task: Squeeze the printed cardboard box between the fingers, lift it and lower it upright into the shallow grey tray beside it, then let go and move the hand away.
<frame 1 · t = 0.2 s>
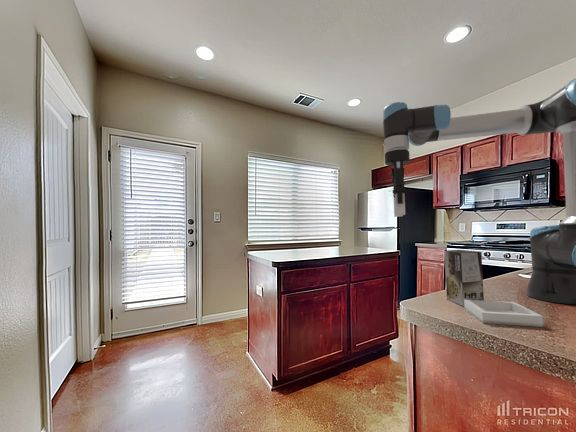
hand: (399, 215, 87), 28 cm above the countertop, tool pointing down, fingers open, 13 cm apart
shallow grey tray: (499, 316, 69), on the countertop
printed cardboard box: (464, 303, 82), on the countertop
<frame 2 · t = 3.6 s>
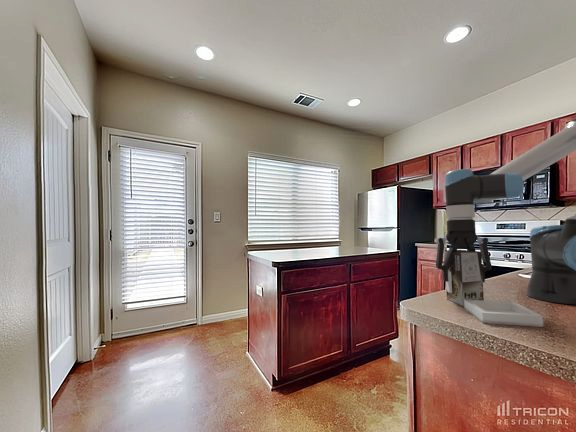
hand: (463, 292, 83), 3 cm above the countertop, tool pointing down, fingers closed on printed cardboard box, 7 cm apart
printed cardboard box: (464, 303, 83), on the countertop, touching gripper
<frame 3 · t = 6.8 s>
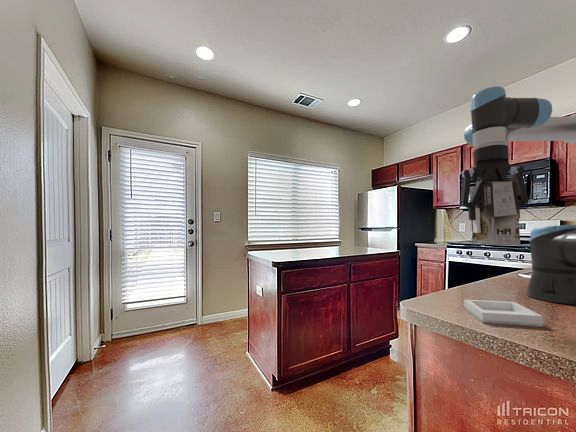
hand: (494, 232, 70), 22 cm above the countertop, tool pointing down, fingers closed on printed cardboard box, 7 cm apart
printed cardboard box: (494, 244, 70), point 19 cm above the countertop, touching gripper
when the fingers open (6 cm above the countertop, at t = 9.8 s): printed cardboard box stays where it is, resting on shallow grey tray.
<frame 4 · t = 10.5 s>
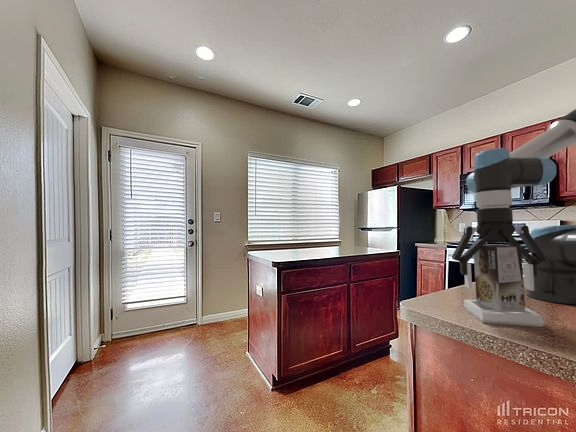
hand: (498, 288, 70), 7 cm above the countertop, tool pointing down, fingers open, 13 cm apart
printed cardboard box: (499, 307, 70), point 2 cm above the countertop, touching shallow grey tray
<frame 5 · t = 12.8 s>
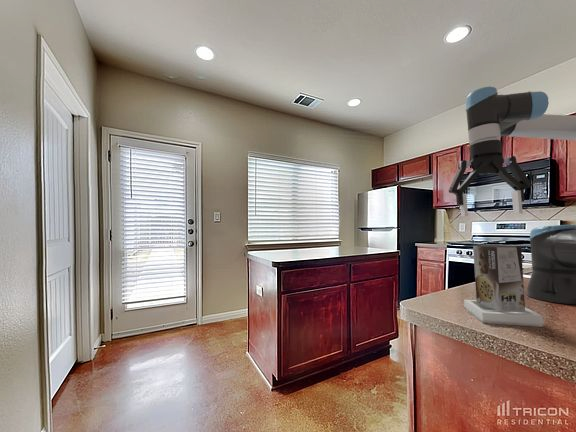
hand: (490, 215, 77), 27 cm above the countertop, tool pointing down, fingers open, 13 cm apart
nothing on the countertop moved.
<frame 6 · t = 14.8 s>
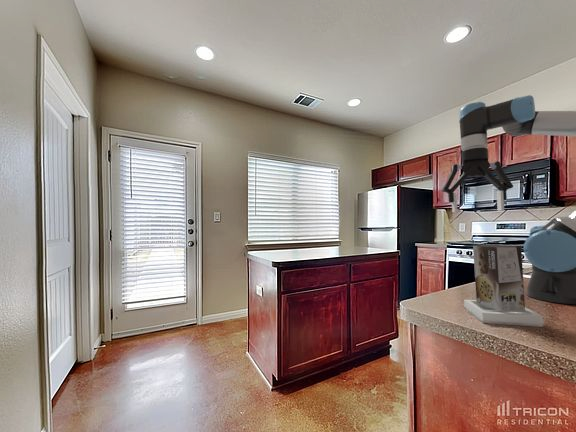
hand: (477, 211, 90), 29 cm above the countertop, tool pointing down, fingers open, 13 cm apart
nothing on the countertop moved.
at the end: printed cardboard box 0.1 cm off-centre on the shallow grey tray, point 2.3 cm above the shallow grey tray's base; printed cardboard box tilted 0°; the gripper is holding nothing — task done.
